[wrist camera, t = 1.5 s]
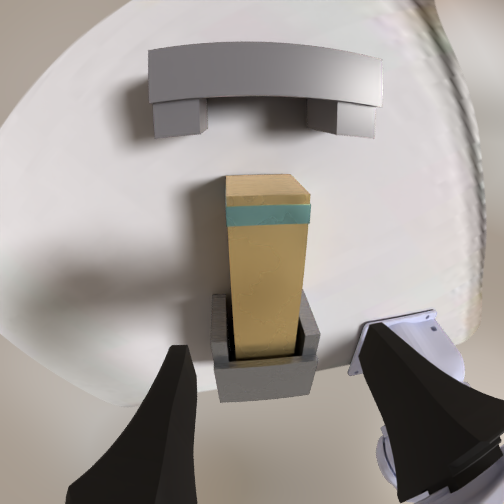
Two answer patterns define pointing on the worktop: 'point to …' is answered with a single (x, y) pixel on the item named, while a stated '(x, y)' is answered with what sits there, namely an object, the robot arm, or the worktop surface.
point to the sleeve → (263, 361)
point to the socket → (264, 84)
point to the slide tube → (266, 262)
